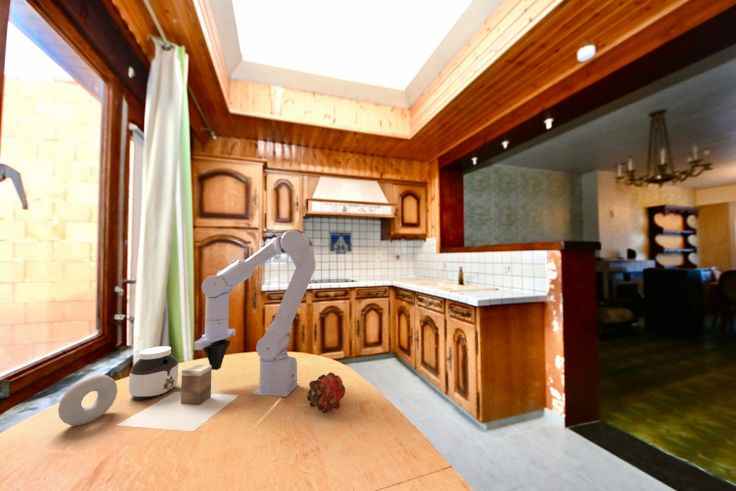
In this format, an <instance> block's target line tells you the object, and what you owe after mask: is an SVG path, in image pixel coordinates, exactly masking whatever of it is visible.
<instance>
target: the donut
mask: <svg viewBox="0 0 736 491" xmlns="http://www.w3.org/2000/svg"><path fill="white" fill-rule="evenodd" d="M92 392H96V393H97V397H96V399H95V401H94V402H93V403H92V404H90V405H89V406H87V407H86V406H85V407H83V406H82V402H83V400H84V398H86V396H87V395H88V394H89V393H92ZM117 394H118V386H117V383H116V381H115V379H114V378H112V377H110V376H109V375H106V374H105V375H104V374H92V375H89V376H86V377H84V378H82V379H80V380H79V381H77V382H76V383H73V384H72V386H70V387H69V389H67V390H66V392H64V394H63V396H62V398H61V399H60V402H59V404H58V405H59V406H58V408H57V411H58V416H59V418H60V420H61V421H62V422H63V423H64V424H67V425H68V426H83V425H87V424H88V423H91V422H94V421H95V420H98V419H100V418H101V417H102V416H103V415H104V414H106V412H108V411H109V409H110V408H111V406H113V404H114V402H115V400H116V399H117Z"/></svg>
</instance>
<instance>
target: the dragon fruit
mask: <svg viewBox="0 0 736 491" xmlns="http://www.w3.org/2000/svg"><path fill="white" fill-rule="evenodd" d="M343 383H344V382H343V380H342V378H341V377H340V375H336V374H335V373H334V372H328V373H327V374H322V375H319V376H318V377H317V379H315V380H311V381H309V390H308V392H307V396H306V399H307V401H308V402H309V406H310V408H317V409H318V412H322V413H326V412H328V411H329V409H331V410H335V409H336V410H339V408H340V405H341V403H340V401H341V400H342V399H343V398H344V397H345V394H346V388H345V387H346V386H345V385H344V384H343Z"/></svg>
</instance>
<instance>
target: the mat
mask: <svg viewBox="0 0 736 491" xmlns="http://www.w3.org/2000/svg"><path fill="white" fill-rule="evenodd" d="M239 396H240V395H239V394H227V393H211V398H209V399H208V400H206V401H205V402H203V403H202V404H200V405H190V404H181V391H175V392H173V393H171V394H169V395H168V396H165V397H163V398H162V399H160V400H158V401H156V402H155V403H154V404H152V405H150V406H148V407H146V408H145V409H143V410H141V411H140V412H139V411H138V413H136V414H134V415H132V416H130V417H129V418H127V419H125V420H123V421H122V422H120V423H117V424H115V426H117V427H127V428H128V427H130V428H141V429H144V428H145V429H152V430H153V429H155V430H168V431H181V432H193V433H194V432H195V431H196V430H197V429H199V428H200V427H201V426H202V425H204V424H205V423H206V422H207V421H209V420H210V419H212V418H213V417H215V415H216V414H218V413H219V412H220V411H222V409H224V408H225V407H226V406H228V405H229V404H230V403H231V402H233V401H234V400H235V399H236V398H238V397H239Z"/></svg>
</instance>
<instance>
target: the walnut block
mask: <svg viewBox="0 0 736 491" xmlns="http://www.w3.org/2000/svg"><path fill="white" fill-rule="evenodd" d="M212 371H213V370H212V365H210V364H192V365H190V366H188V367H186V368H184V369H181V384H180V385H181V386H180V387H181V388H180V392H181V404H190V405H200V404H202V403H203V402H205V401H206V400H208V399H209V398H211V394H212Z"/></svg>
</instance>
